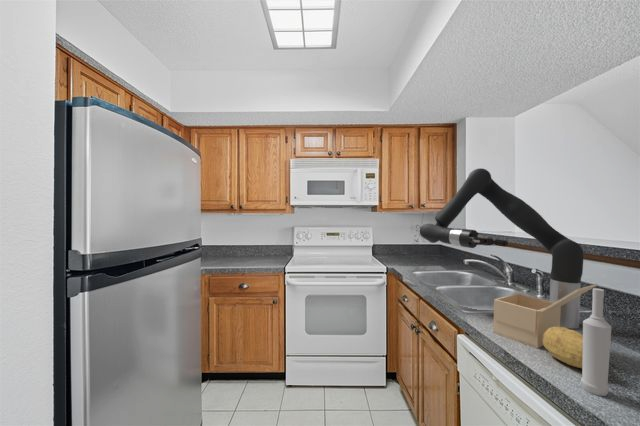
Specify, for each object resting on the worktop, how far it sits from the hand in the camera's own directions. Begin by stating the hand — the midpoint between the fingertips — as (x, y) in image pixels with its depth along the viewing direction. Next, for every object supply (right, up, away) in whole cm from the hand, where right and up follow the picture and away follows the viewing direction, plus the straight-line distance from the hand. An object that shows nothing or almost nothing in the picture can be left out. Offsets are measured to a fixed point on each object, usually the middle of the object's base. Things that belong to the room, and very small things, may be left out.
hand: (506, 243), depth 113 cm
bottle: (-2, -33, -38) cm, 50 cm away
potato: (+2, -32, -25) cm, 41 cm away
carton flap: (+10, -15, -16) cm, 24 cm away
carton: (+3, -32, -6) cm, 33 cm away
